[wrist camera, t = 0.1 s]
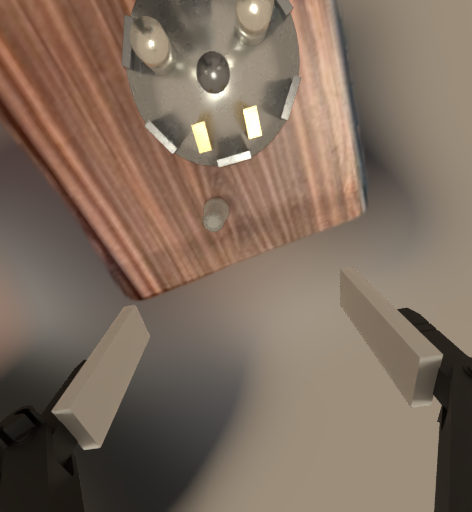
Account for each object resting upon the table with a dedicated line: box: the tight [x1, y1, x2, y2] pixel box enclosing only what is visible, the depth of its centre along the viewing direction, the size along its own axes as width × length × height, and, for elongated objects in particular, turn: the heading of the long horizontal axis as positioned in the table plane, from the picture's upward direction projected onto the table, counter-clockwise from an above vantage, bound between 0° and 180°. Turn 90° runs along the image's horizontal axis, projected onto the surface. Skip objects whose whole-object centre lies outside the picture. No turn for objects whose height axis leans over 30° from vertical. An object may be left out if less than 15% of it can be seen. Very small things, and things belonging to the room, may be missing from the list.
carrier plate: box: [122, 0, 301, 167], centre depth 29 cm, size 23×23×6 cm
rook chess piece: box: [202, 198, 229, 232], centre depth 37 cm, size 4×4×8 cm
